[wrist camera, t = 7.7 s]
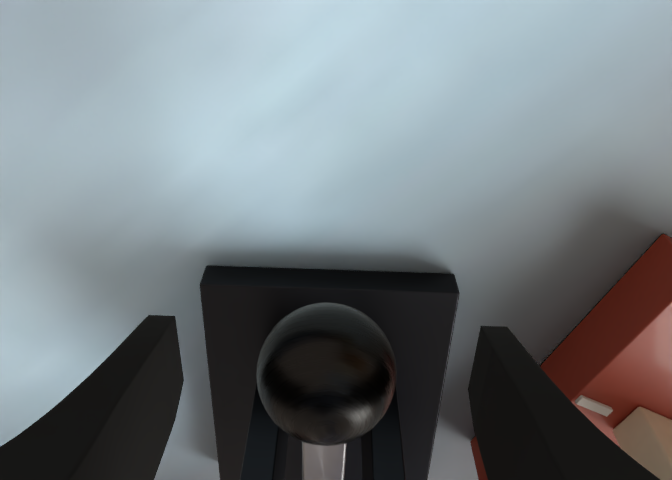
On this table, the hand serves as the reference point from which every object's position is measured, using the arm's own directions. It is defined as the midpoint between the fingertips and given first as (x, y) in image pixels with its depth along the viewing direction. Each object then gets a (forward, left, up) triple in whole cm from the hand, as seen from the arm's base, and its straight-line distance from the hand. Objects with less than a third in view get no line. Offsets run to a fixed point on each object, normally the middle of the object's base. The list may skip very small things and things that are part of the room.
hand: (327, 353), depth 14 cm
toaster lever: (-4, -1, -1) cm, 4 cm away
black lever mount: (-8, -2, -7) cm, 11 cm away
